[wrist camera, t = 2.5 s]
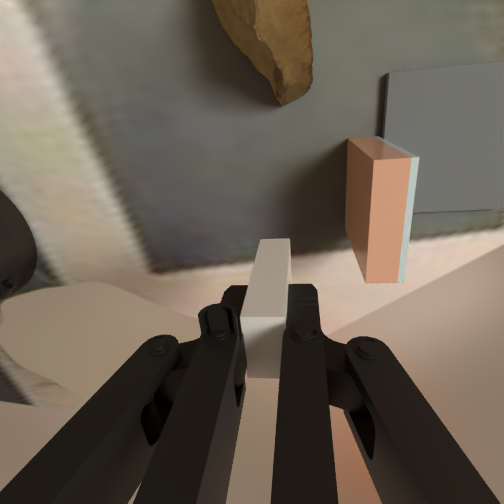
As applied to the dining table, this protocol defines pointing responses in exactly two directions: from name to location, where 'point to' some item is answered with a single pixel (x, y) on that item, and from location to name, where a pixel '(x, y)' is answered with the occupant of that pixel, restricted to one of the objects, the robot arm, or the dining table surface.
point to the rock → (273, 41)
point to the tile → (380, 206)
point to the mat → (450, 133)
